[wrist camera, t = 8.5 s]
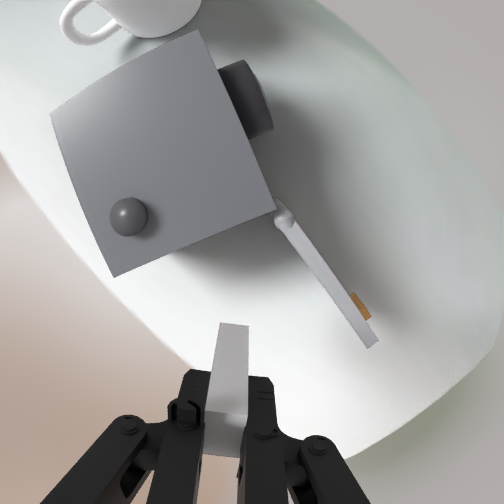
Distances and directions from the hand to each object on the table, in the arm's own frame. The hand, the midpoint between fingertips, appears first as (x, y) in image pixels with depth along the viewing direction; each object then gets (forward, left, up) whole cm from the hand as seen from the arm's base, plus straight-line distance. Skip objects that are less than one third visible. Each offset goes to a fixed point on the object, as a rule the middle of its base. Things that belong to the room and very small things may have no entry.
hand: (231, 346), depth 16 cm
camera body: (-11, +1, -12) cm, 17 cm away
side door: (0, +7, -12) cm, 14 cm away
